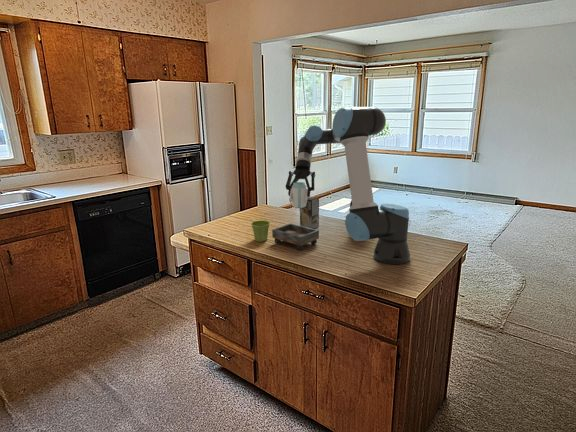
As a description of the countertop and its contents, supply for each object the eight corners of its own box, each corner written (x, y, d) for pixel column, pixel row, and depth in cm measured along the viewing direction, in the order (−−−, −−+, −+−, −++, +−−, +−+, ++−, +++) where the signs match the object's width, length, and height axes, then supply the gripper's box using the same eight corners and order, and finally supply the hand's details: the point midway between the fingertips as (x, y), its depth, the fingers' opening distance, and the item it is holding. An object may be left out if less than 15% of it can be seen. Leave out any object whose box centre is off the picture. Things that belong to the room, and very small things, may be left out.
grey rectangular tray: (318, 244, 179) (318, 230, 177) (301, 252, 170) (301, 237, 168) (290, 236, 191) (290, 223, 189) (272, 243, 181) (272, 229, 179)
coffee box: (319, 226, 205) (319, 198, 201) (312, 229, 201) (312, 200, 196) (306, 223, 211) (306, 195, 207) (299, 226, 207) (299, 197, 202)
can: (292, 205, 191) (292, 181, 187) (306, 205, 190) (306, 181, 187) (292, 208, 184) (291, 184, 181) (306, 208, 184) (306, 184, 180)
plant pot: (267, 243, 181) (267, 226, 179) (249, 242, 183) (248, 225, 181) (272, 237, 190) (272, 220, 188) (254, 236, 192) (253, 220, 189)
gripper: (323, 167, 195) (318, 206, 184) (285, 167, 199) (279, 204, 188) (322, 159, 188) (317, 198, 178) (283, 158, 192) (276, 196, 182)
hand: (298, 201), depth 183 cm, fingers closed on can, 7 cm apart
